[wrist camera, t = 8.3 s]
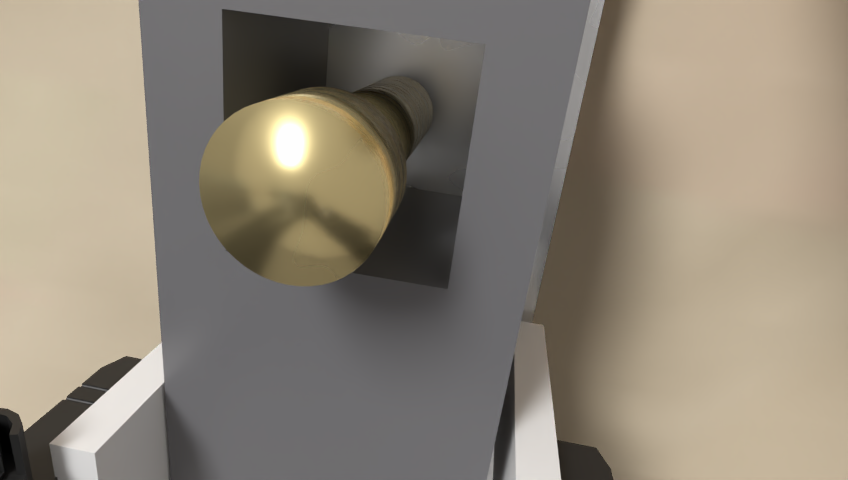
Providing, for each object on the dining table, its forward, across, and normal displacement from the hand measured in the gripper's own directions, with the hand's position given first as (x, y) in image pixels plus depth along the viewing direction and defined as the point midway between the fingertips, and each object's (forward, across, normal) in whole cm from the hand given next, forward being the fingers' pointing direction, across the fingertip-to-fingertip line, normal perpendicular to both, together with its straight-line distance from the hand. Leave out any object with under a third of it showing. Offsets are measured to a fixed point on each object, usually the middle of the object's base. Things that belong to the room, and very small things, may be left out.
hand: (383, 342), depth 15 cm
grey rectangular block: (0, 0, 0) cm, 0 cm away
